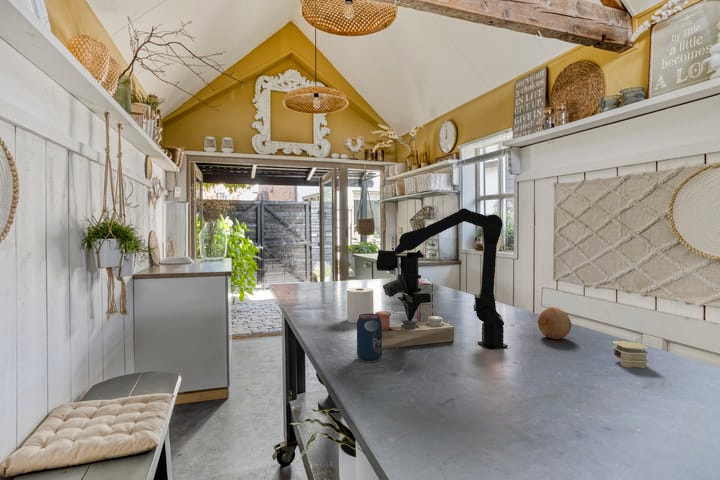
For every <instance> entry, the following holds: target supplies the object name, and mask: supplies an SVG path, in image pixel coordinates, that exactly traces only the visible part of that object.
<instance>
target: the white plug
mask: <svg viewBox="0 0 720 480" xmlns="http://www.w3.org/2000/svg"><path fill="white" fill-rule="evenodd" d="M428 320H429V325H430V326H441V321H443V317H442V316H437V315H433V316H430V317H428Z"/></svg>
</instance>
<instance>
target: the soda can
mask: <svg viewBox="0 0 720 480" xmlns="http://www.w3.org/2000/svg"><path fill="white" fill-rule="evenodd" d="M379 317H380V316H379V315H378V314H375V313H373V314H361V315H359V318H358V320H357V323H356V356H357V358H359V360H360V361H361V362H363V363H365V362H366V363H374V362H378V361H380V359H381V357H382V356H383V349H382V322H381V320H380V318H379Z"/></svg>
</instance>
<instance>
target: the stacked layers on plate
mask: <svg viewBox="0 0 720 480" xmlns="http://www.w3.org/2000/svg"><path fill="white" fill-rule="evenodd" d="M612 343H614V344H615V345H613V346H612V347H611V348H612V349H613V353H612V354H611V355H612V357H615V358H616V359H619V361H620V366H621V367H624V368H642V369H643V368H644V369H647V363H649V360H648V359H647V355H649V352H648V351H646V350H645V349H649V347H647V346H646V345H645V344H643V343H639V342H638V343H637V342H630V341H622V340H614V341H612Z"/></svg>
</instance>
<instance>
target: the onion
mask: <svg viewBox="0 0 720 480" xmlns="http://www.w3.org/2000/svg"><path fill="white" fill-rule="evenodd" d="M537 326H538V329H539V331H540V332H541V334H542V335H543V336H544V337H546V338H549V339H554V340H560V339H563V338H565V337H567V336H568V335H569V333H571V332H570V331H571V329H572V321H571V318H570V317H569V315H568V314H567V313H566V312H565V311H564V310H562V309H560V308H558V307H555V306H552V307H548V308H546V309H544V310H543V311H541V313H540V314H539V315H538V319H537Z"/></svg>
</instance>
